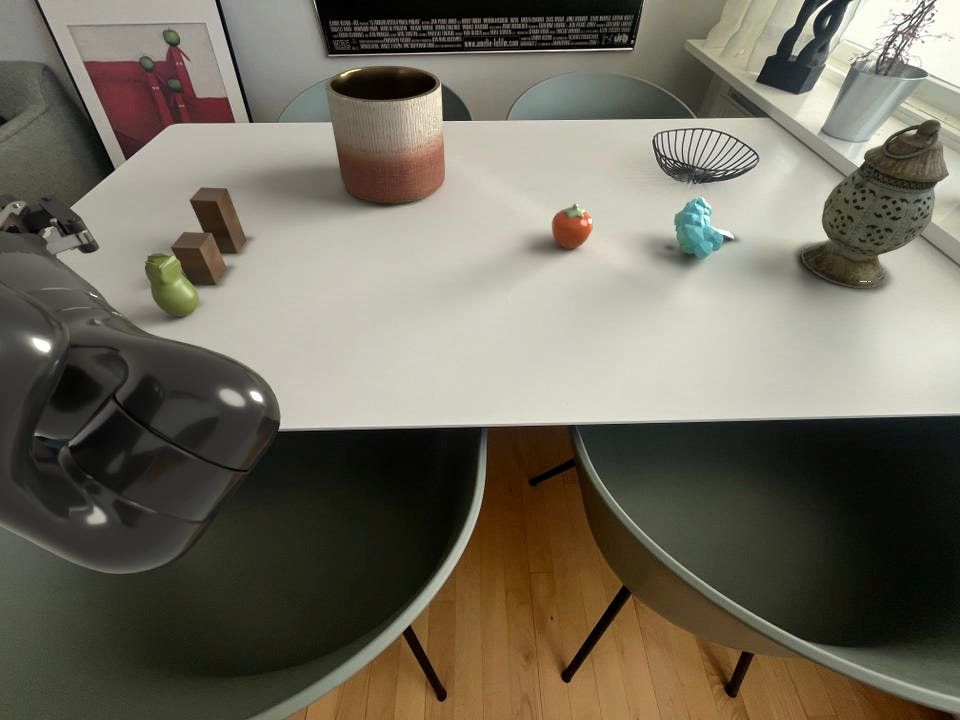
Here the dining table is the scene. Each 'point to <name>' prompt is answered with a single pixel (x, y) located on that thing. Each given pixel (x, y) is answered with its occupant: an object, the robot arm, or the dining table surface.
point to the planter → (388, 132)
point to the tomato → (571, 227)
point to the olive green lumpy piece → (170, 285)
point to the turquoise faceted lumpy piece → (698, 229)
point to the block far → (219, 218)
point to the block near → (199, 257)
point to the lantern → (879, 207)
